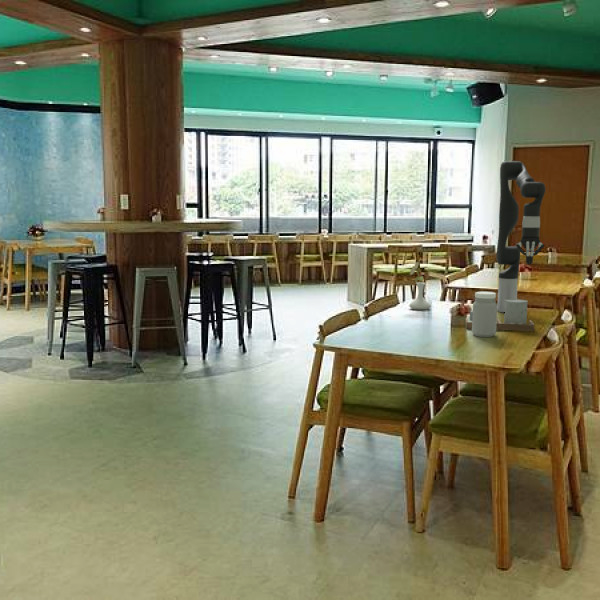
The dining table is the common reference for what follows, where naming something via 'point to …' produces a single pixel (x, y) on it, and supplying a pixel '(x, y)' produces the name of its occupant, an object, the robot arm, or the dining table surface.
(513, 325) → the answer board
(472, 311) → the block slate
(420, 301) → the flower in vase
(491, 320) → the jar
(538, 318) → the dining table surface
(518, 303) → the speckled white canister
